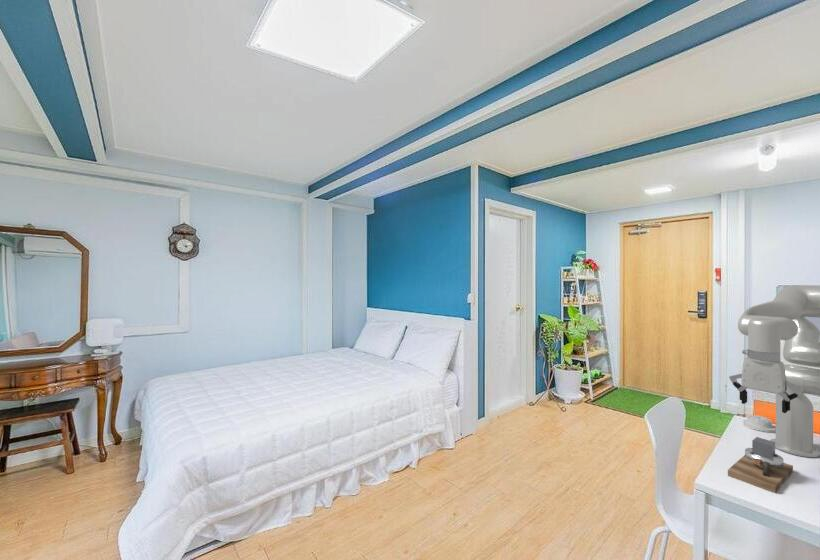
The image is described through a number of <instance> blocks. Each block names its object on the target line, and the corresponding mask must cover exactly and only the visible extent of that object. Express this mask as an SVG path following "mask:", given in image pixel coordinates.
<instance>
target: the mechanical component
mask: <svg viewBox="0 0 820 560" xmlns="http://www.w3.org/2000/svg"><path fill="white" fill-rule="evenodd" d="M742 423H743V426H745V427H746V428H748V429H751V430H754V429H755V430H754V431H757V430H760V431H759V432H762V431H765V432H764V433H776V425H775V426H774V425H773V420H772V419H770V418H769V417H765V416H762V415H756V414H749V415H748V414H747V417H746V419H745V420H743V422H742Z"/></svg>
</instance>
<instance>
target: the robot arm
mask: <svg viewBox="0 0 820 560" xmlns="http://www.w3.org/2000/svg"><path fill="white" fill-rule="evenodd" d="M806 317H807V318H806ZM808 318H818V319H819V318H820V284H819V285H818V284H817V285H812V284H811V285H808V284H807V285H806V284H805V285H804V284H803V285H802V284H794V285H793V284H792V285H787V286H785V287H783V288H781V289H780V291H779V292H778V294H777V295H776V296H775V297H774V299H773V300H772V301H767V302H763V303H759V304H757V305H753V306H751V307H748V308H746V309H745V311H744V312H743V313H742V314H741V315H740V317H739V319H738V321H737V329H738V330H739V332H740V334H742V335H744V336H747V349H742V350H741V351H742V355H746V357H744V359H743V364H742V372H741V373H738V374H733V375H729V377H728V378H729V380H730V382H731V383H732V385H733V386H734V387H735V388H736V389H737V391H739V401H741V404H742V405H744V404H747V403H748V391H747V389H750V390H753V391H759V392H764V393H769V394H775V427H776V432H775V438H771V439H770V440H769V441H773V442H775V449H777V450H778V451H782V452H784V453H787V454H790V455H795V456H798V457H803V458H804V457H805V458H818V457H820V451H819V450H818V449H817V448H815V447H814V405H813V403H812V401H811V400H810V399H809V398H808V397H807V395H812V396H817V397H820V329H819V328H818V327H817V325H815V324H814V323H813V322H812V321H810V319H809V320H808ZM781 341H784V345H783V348H782V349H783V350H782V357H783V359H784V360H785V361H786V362H788V363H790V364H785V363H784V362H783V361H781ZM738 379H741V383H740V382H739V381H738ZM806 394H807V395H806Z"/></svg>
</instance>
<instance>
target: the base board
mask: <svg viewBox="0 0 820 560" xmlns="http://www.w3.org/2000/svg"><path fill="white" fill-rule="evenodd" d="M792 473H794V466H793V465H792V464H789V463H785V462H784V464H783V466H779V467H776V466H770V463H768V462H763V464H761V465H760V466H759V465H757V464H754V461H753V460H751V459H749V458H747V457H746V456H745V454H744V455H743V456H742V457H740V458H739V459H738V460H737V461H736V462H734V464H732V465H731V466H730V467H729V468H728V469H727V476H728V477H731V478H733V479H736V480H738V481H741V482H744V483H746V484H749V485H752V486H755V487H757V488H760V489H763V490H765V491H768V492H771V493H773V494H776V493H777V492H778V490H779V489H780V488H781V487H782V486H783V485H784V484H785V482H786V481H787V480H788V478H789V477H790V476H791V475H792Z"/></svg>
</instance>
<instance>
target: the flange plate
mask: <svg viewBox="0 0 820 560" xmlns="http://www.w3.org/2000/svg"><path fill="white" fill-rule="evenodd" d="M751 441H752V443H751V444H752V447H746V448H745V449H744V455H745V456H746V457H747V458H749V459H751V460H753V461H754V464H757V465H759V466H760V465H761V464H763V462H768V463H770V466H776V467H779V466H783V464H784V463H785V461H784V458H783V457H782V456H781V455H779V454H777V453H776V448H775V442H773V441H770V440H768V439H765V438H762V437H759V436H756V437H754V438H753V439H752V440H751Z"/></svg>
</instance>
